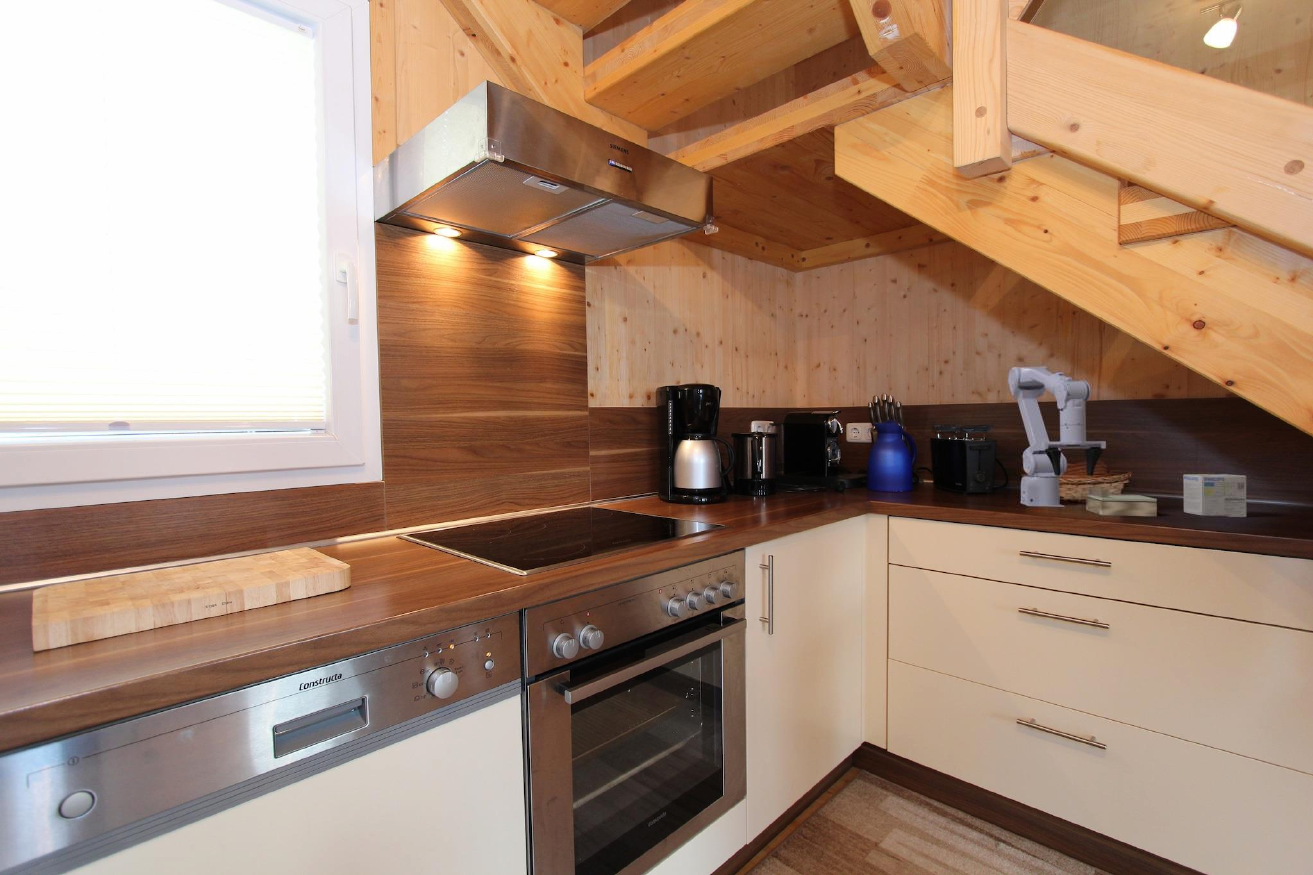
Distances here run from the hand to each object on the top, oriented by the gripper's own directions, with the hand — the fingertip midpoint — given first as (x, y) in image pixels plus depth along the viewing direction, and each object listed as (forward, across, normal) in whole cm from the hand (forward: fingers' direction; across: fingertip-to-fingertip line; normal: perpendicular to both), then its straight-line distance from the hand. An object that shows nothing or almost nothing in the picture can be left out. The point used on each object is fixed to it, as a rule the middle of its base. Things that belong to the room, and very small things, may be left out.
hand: (1073, 475), depth 160 cm
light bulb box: (+11, +33, +3) cm, 35 cm away
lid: (+6, +11, 0) cm, 12 cm away
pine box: (+10, +11, 0) cm, 15 cm away
